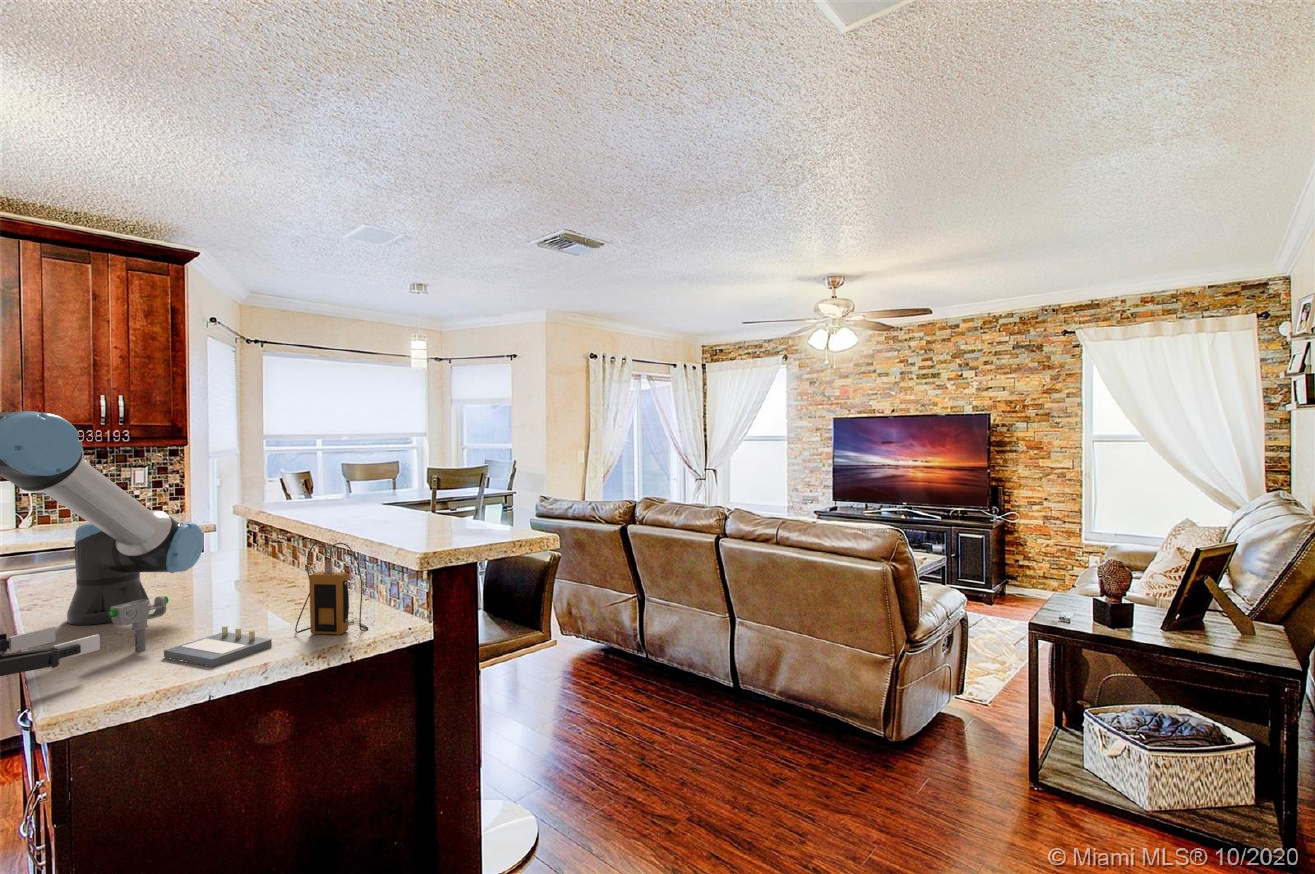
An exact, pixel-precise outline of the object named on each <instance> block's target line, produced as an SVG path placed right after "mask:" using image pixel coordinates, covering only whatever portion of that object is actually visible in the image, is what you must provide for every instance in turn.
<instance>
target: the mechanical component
mask: <svg viewBox="0 0 1315 874" xmlns="http://www.w3.org/2000/svg"><path fill="white" fill-rule="evenodd" d="M149 601H150V599H149V600H137V601H133V602H129V603H125V604H121V605H116V606H112V607H110V610H109V611H108V616H109V617H110V618H112V622H111V623H113V624H114V625H119V626H130V625H132V626H131V630H132V631H134V643H135V644H134V645H135V646H134V647H135V648H134V649H135V652H139V651H142V652H145V651H146V632H145V631H146V629H147V628H149V625H148V620H152V619H156V618H159V617H162V616H164V615H165V614H166V612H167V604H168V603H169V598H168V596H166V595H165V596H162V595H160V596H156V597H155V599H154V601H153V603H154V604H151V603H150V604H149ZM127 611H128V613H127V615H126V612H127ZM151 611H154V612H152V613H150V612H151ZM144 650H145V651H144Z"/></svg>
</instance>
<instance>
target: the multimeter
mask: <svg viewBox="0 0 1315 874" xmlns="http://www.w3.org/2000/svg"><path fill="white" fill-rule="evenodd" d="M317 544H319V545H321V546H322V547H323V549H324V553H325V554H324V555H325V557H324V559H325V560H324V564H325V565H324V571H317V572H315V573H314V572H313V573H312V574H310V571H309V570H310V569H309V556H310V553H311V551H312V549H313V548H314V547H315V545H317ZM336 545H344V546H346V547H347V548H348V549H349V550H350V552H351V554H352V556H353V557H354V560H355V561H356V562H355V563H356V566H357V569H358V575H359V578H360V579H359V580H360V604H359V620H352V621H349V611H350V599H349V598H350V595H349V593H350V592H349V577H348V572H345V571H342V572H340V571H334V572H333V566H332V564H333V562H332V549H333V548H334V547H335V546H336ZM327 554H328V553H327V549H326V546H325V545H324V544H323V543H322V542H320V541H316V542H314V543H313V545H312V546H311V547H310V549H309V551H308V554H307V556H306V571H307V572H306V573H307V576H308V580H309V585H308V586H309V593H308V596H307V597H306V599H305V602H304V604H303V607H302V609H301V610H300V613H299V616H298V619H297V621H296V625H295V629H294V631H295V633H301V632H303V631H306V630H307V631H308V630H310V633H311V634H312V635H318V634H319V635H321V634H322V635H336V636H340V635H342V634H344V633H346V632H348V631H349V625H350V624H355V623H357V624H358V625H359V629H360V631H361V632H365V631H368V630H369V627H368V626H367V625H365V624H364V623H362V622H361V621H363V619H361V618H362V617H361V616H362V605H363V604H362V603H363V579H362V574H361V573H362V572H361V569H360V565H359V563H358V560H357V557H356V555H355V552H354V551H353V549H352V548H351V546H349V545H348V544H346V543H344V542H343V543H342V542H337V543H334V544H332V545H331V547H330V550H329V566H328V560H327V559H328V558H327V557H328V555H327ZM308 600H309V617H310V621H309V622H310V626H309V627H307V628H304V629H301V630H299V631H297V628H298V624H299V621H300V620H301V619H300V618H301V616H302V614H303V612H304V610H305V607H306V604H307V603H308ZM362 628H365V629H362Z"/></svg>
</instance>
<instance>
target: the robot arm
mask: <svg viewBox="0 0 1315 874" xmlns="http://www.w3.org/2000/svg"><path fill="white" fill-rule="evenodd" d="M79 437H80V433H79V431H78V430H77V429H76V427H75V426H74V425H73V424H72V423H71V422H69V421H68V420H67V419H65V418H63V417H62V416H59V415H56V414H52V413H48V412H39V411H32V410H26V411H23V410H22V411H6V412H2V411H0V477H2V478H3V479H5V480H7V481H8V482H10V483H11V484H13V485H15V486H16V487H18V488H20V489H21V490H23V491H25V492H30V493H36V492H43V494H45V495H47V496H48V497H50V498H51V499H53V500H54V501H56V502H57V503H59V504H60V505H61V506H64V507H65V508H67V509H68V510H69V511H70V512H73V513H74V514H75V515H77V516H79V517H80V518H81V519H83V520H85V521H86V522H88V523H83V524H81V525H78V527H76V530H75V534H74V535H75V538H74V542H73V543H74V559H75V578H76V579H75V580H76V582H75V583H76V588H75V590H74V593H73V596H72V599H71V601H70V603H69V607H68V609H67V612H66V623H67V624H70V625H75V626H88V625H89V626H90V625H100V624H106V623H113V622H112V618H110V617H109V616H108V611H109V610H110V607H112V606H116V605H121V604H125V603H129V602H133V601H137V600H149V604H151V603H150V602H151V601H150V599H149V597H148V594H147V592H146V590H145V588H144V586H143V583H142V580H141V573H169V574H174V573H182V572H186V571H189V570H190V569H191V568H193V567H195V565H196V564H197V563H198V561H199V559H200V557H201V555H202V552H203V549H204V534H203V531H202V528H201V527H200V526H199V525H198V524H196V523H193V522H189V521H185V522H179V521H177V520H175V518H173V517H172V516H170V515H169V514H167V513H166V512H164V511H162V510H150V509H149V508H147V507H146V506H145V505H144V504H142V503H141V502H139V501H138V500H137V499H135V498H134V497H133V496H132V495H131V494H129V493H128V492H126V491H125V490H124V489H122V488H121V487H120V486H118V485H117V484H116V483H115V482H113V481H111V480H110V478H108V477H106V475H104V474H103V473H101V472H100V471H99V470H97V469H96V468H95V467H93V466H92V465H90V464H89V463H88V462H87V461H85V460H84V451H83V442H82V440H79ZM127 613H128V611H127V612H126V615H127ZM56 635H57V634H56V626H49V627H46V628H45V627H44V628H40V629H37V630H32V631H28V632H24V633H19V634H16V635H12V636H8V635H7V633H6V632H5V633H0V677H4V676H9V675H14V674H19V673H25V672H31V671H37V670H41V669H47V668H51V669H54V668H58V667H59V665H60V662H61V661H63V660H68V659H70V658H75V657H78V656H81V655H86V654H88V653H93V652H96V651H99V650H100V651H101V648H100V647H101V646H100V644H101V641H100V634H99V633H98V634H93V635H89V636H86V637H81V638H79V639H78V638H77V639H74V640H70V641H67V642H61V643H58V644H55V645H52V647H50V648H49V647H48V648H42V649H31V650H26V649H30V648H34V647H37V646H41V645H45V644H49V643H54V642H56V640H57V639H56V638H57V636H56ZM7 637H8V638H7ZM22 650H26V651H22ZM7 652H8V653H7Z"/></svg>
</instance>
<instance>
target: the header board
mask: <svg viewBox="0 0 1315 874" xmlns="http://www.w3.org/2000/svg"><path fill="white" fill-rule="evenodd" d="M255 634H256V631H255V629H252V630H249V631H248V634H242V628H241V627H237V628H235V629H234V632H229V625H224V626H223V625H222V627H221V632H219V633H217V634H214V635H210V636H206V637H203V638H201V639H196V640H193V641H190V642H187V643H183V644H180V645H177V646H174V647H170V648H167V649H164V650H163V658H164V657H165V658H164V659H167V658H171V659H170V660H172V659H175V660H174V661H177V660H183V661H187V662H186V663H188V662H191V663H190V664H193V663H195V664H194V665H198V664H200V666H203V665H207V666H206V667H209V666H210V668H214V667H218V666H220V665H223V664H226V663H229V662H231V661H234V660H237V659H241V658H243V657H247V656H249V655H251V654H252V655H253V654H255V653H257V651H258V652H260V651H264V650H266V649H270V648H271V647H272V643H273V642H272V638H266V637H260V636H259V637H258V636H256V635H255ZM254 652H255V653H254ZM242 656H243V657H242ZM240 657H241V658H240Z"/></svg>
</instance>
